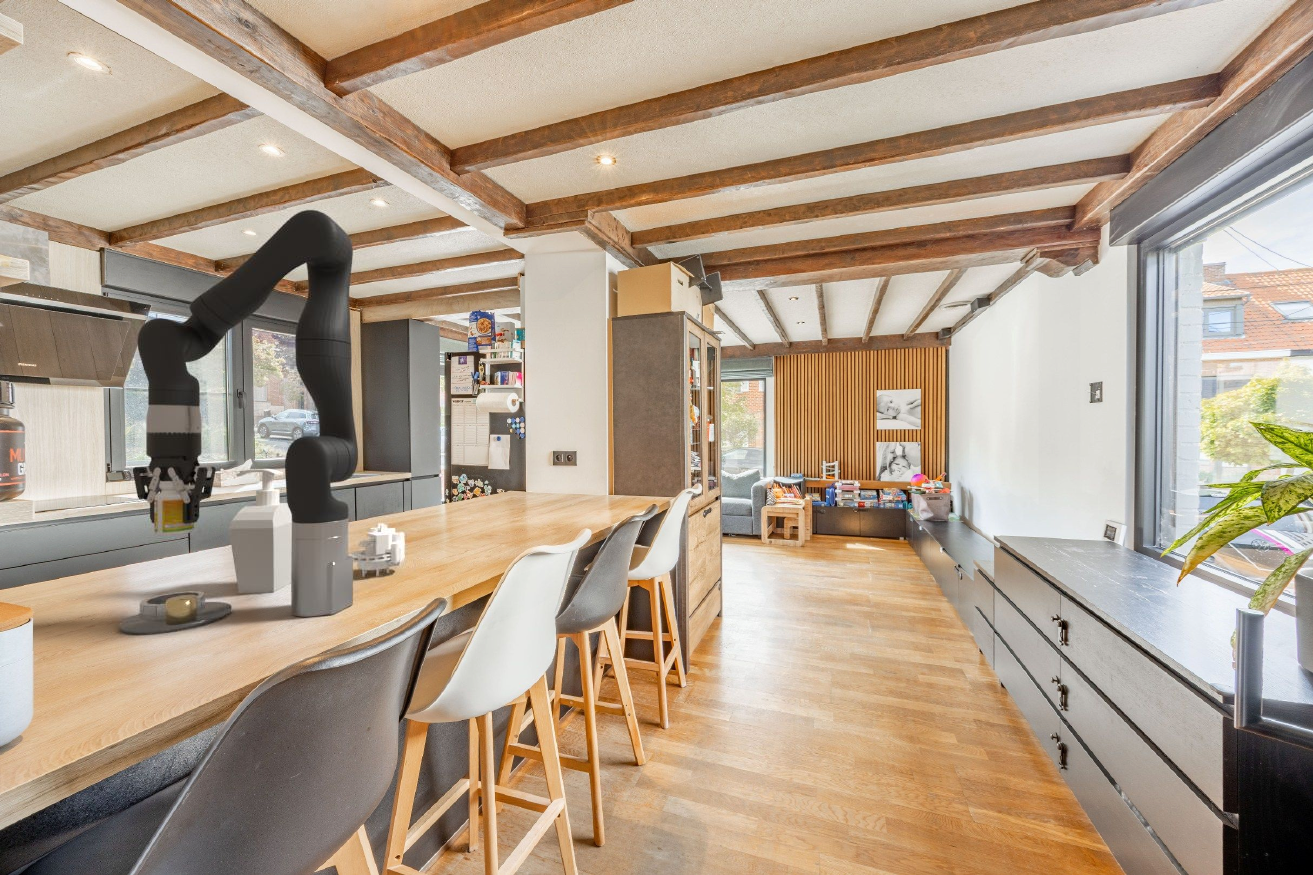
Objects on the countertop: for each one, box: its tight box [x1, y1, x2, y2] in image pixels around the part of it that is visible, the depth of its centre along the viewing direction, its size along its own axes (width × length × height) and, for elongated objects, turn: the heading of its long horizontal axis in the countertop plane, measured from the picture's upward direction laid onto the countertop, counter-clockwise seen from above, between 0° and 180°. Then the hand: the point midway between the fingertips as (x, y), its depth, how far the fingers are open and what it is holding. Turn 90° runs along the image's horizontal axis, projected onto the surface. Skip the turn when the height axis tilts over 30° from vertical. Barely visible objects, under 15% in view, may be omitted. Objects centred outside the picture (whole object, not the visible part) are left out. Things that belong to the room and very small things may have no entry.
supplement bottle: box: [153, 481, 195, 537], centre depth 98 cm, size 5×5×10 cm
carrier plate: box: [119, 590, 233, 636], centre depth 96 cm, size 15×15×5 cm
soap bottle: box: [228, 468, 292, 594], centre depth 116 cm, size 12×10×26 cm
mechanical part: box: [348, 522, 406, 578], centre depth 128 cm, size 11×12×12 cm
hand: (174, 522), depth 98 cm, fingers closed on supplement bottle, 5 cm apart
